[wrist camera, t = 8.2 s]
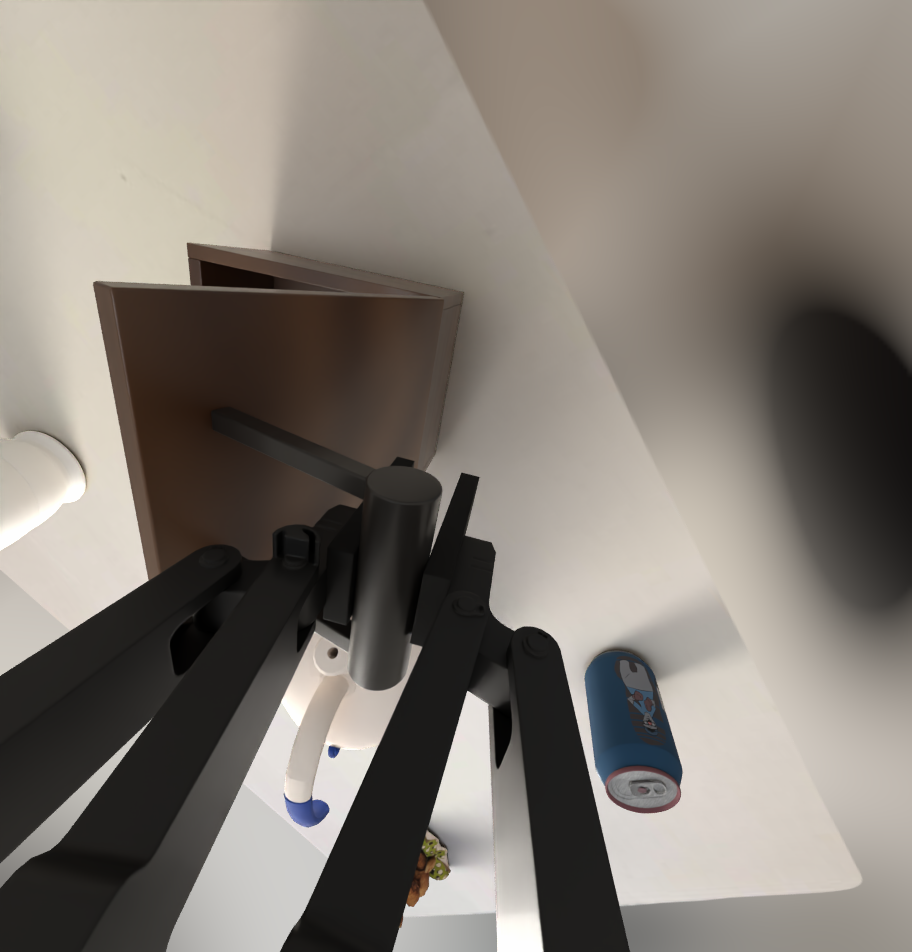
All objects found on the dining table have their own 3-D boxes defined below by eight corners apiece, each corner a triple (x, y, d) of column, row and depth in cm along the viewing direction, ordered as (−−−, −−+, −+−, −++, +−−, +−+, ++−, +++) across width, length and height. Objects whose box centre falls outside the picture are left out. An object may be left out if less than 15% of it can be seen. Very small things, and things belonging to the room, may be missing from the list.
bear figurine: (397, 870, 72) (372, 976, 61) (345, 820, 68) (309, 923, 57) (465, 864, 67) (451, 977, 56) (414, 809, 63) (388, 920, 52)
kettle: (476, 581, 43) (440, 763, 27) (447, 710, 52) (407, 903, 36) (289, 537, 45) (150, 683, 29) (293, 669, 54) (190, 836, 38)
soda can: (592, 695, 47) (608, 818, 36) (576, 650, 45) (588, 768, 34) (658, 688, 45) (696, 817, 34) (644, 640, 43) (681, 763, 32)
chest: (271, 414, 39) (205, 449, 31) (269, 250, 33) (186, 242, 25) (435, 454, 38) (408, 501, 30) (464, 292, 32) (440, 297, 24)
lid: (163, 666, 16) (345, 807, 13) (90, 280, 10) (398, 384, 7) (402, 501, 30) (517, 553, 27) (432, 296, 24) (586, 334, 21)
